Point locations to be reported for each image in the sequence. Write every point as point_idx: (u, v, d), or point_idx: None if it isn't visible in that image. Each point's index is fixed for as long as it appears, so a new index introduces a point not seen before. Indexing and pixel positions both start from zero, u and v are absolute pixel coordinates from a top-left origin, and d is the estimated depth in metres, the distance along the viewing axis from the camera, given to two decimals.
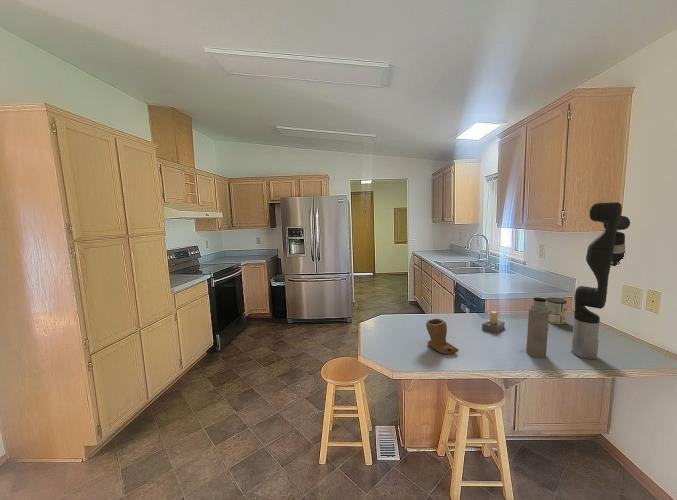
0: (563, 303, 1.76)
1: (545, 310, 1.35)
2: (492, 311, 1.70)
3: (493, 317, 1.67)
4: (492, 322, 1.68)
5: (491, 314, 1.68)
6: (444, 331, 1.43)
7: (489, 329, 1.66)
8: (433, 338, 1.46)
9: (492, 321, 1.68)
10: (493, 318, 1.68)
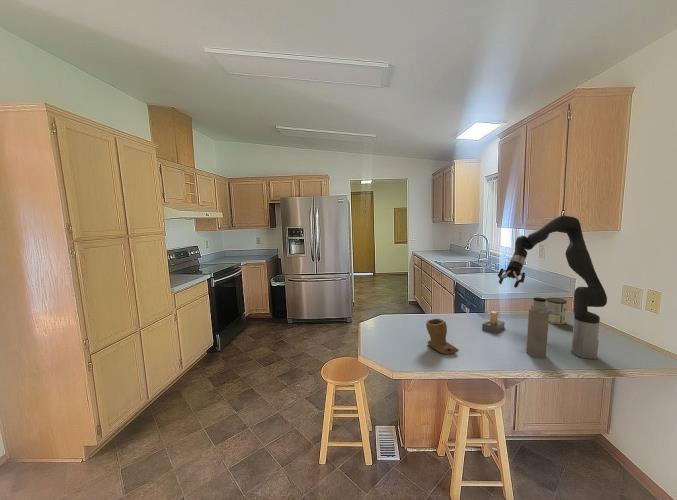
0: (563, 303, 1.76)
1: (545, 310, 1.35)
2: (492, 311, 1.70)
3: (493, 317, 1.67)
4: (492, 322, 1.68)
5: (491, 314, 1.68)
6: (444, 331, 1.43)
7: (489, 329, 1.66)
8: (433, 338, 1.46)
9: (492, 321, 1.68)
10: (493, 318, 1.68)
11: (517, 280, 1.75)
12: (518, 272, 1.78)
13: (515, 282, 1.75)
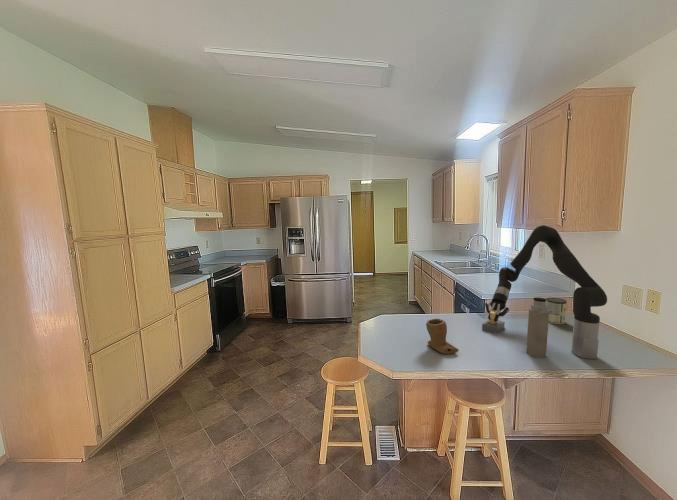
0: (563, 303, 1.76)
1: (545, 310, 1.35)
2: (492, 311, 1.70)
3: (493, 317, 1.67)
4: (492, 322, 1.68)
5: (491, 314, 1.68)
6: (444, 331, 1.43)
7: (489, 329, 1.66)
8: (433, 338, 1.46)
9: (492, 321, 1.68)
10: (493, 318, 1.67)
11: None
12: (503, 305, 1.69)
13: (495, 316, 1.67)
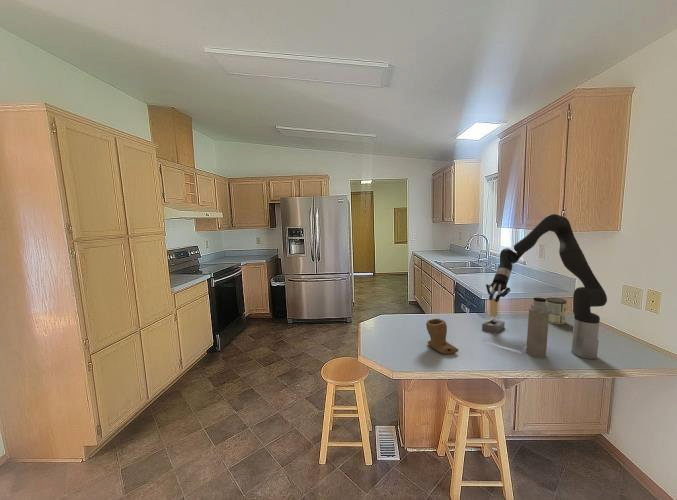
0: (563, 303, 1.76)
1: (545, 310, 1.35)
2: None
3: (493, 305, 1.66)
4: (492, 310, 1.67)
5: (491, 302, 1.66)
6: (444, 331, 1.43)
7: (489, 329, 1.66)
8: (433, 338, 1.46)
9: (493, 309, 1.67)
10: (493, 306, 1.66)
11: (498, 294, 1.66)
12: (504, 285, 1.68)
13: (496, 296, 1.66)
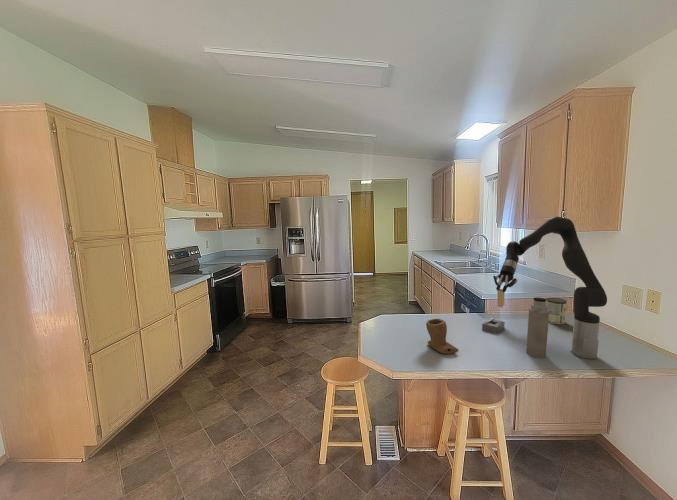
0: (563, 303, 1.76)
1: (545, 310, 1.35)
2: None
3: (500, 295, 1.73)
4: (499, 300, 1.74)
5: (498, 292, 1.73)
6: (444, 331, 1.43)
7: (489, 329, 1.66)
8: (433, 338, 1.46)
9: (500, 299, 1.74)
10: (500, 296, 1.73)
11: (505, 284, 1.73)
12: (511, 276, 1.74)
13: (503, 287, 1.73)
